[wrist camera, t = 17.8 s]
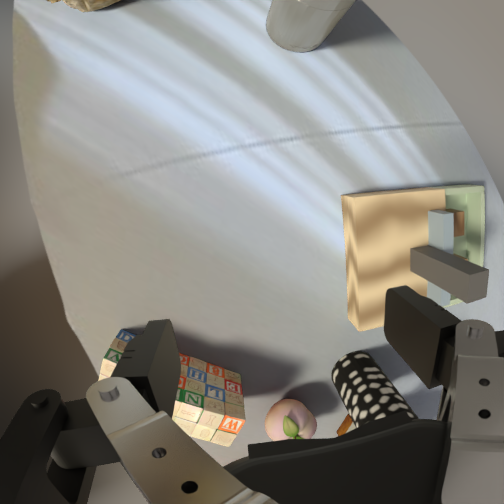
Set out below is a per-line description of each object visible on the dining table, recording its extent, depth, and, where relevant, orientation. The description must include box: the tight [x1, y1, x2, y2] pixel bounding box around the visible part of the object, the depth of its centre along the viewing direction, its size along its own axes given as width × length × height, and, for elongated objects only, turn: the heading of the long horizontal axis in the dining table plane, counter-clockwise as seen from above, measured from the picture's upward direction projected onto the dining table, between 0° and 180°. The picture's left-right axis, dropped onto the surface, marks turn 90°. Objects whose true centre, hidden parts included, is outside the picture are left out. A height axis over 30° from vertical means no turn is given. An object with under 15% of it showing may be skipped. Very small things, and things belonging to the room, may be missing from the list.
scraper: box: [410, 210, 489, 307], centre depth 37 cm, size 14×6×14 cm, turn 7°
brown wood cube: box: [446, 209, 464, 237], centre depth 46 cm, size 4×4×4 cm
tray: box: [430, 184, 485, 308], centre depth 47 cm, size 20×10×4 cm, turn 8°
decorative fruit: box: [265, 399, 317, 441], centre depth 49 cm, size 9×8×10 cm
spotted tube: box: [331, 351, 419, 428], centre depth 44 cm, size 8×8×20 cm
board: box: [341, 187, 446, 332], centre depth 47 cm, size 20×16×5 cm
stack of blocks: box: [99, 329, 246, 447], centre depth 45 cm, size 21×6×12 cm, turn 66°
